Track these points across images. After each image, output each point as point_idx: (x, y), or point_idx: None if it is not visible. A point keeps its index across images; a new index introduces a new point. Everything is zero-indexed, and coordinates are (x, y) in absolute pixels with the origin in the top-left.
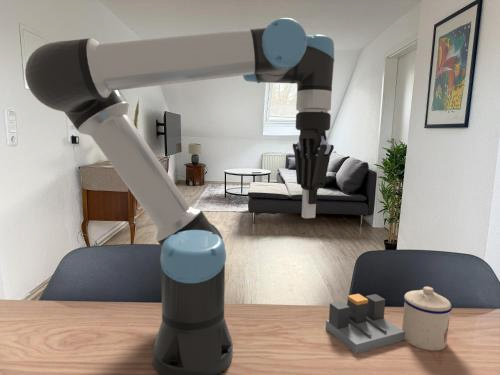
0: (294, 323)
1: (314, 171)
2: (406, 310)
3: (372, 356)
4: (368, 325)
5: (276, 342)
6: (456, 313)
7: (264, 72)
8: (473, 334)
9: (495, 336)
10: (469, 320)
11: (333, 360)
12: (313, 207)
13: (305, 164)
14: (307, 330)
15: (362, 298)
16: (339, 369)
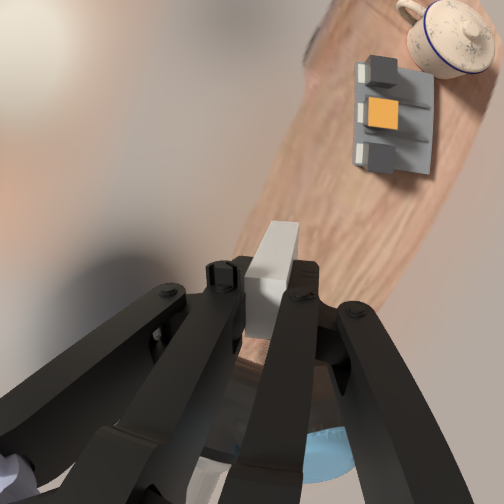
0: (315, 200)
1: (350, 436)
2: (444, 67)
3: (438, 154)
4: (398, 110)
5: (348, 256)
6: None
7: None
8: None
9: None
10: None
11: (419, 210)
12: (295, 251)
13: (201, 449)
14: (343, 194)
15: (390, 107)
16: (435, 217)
